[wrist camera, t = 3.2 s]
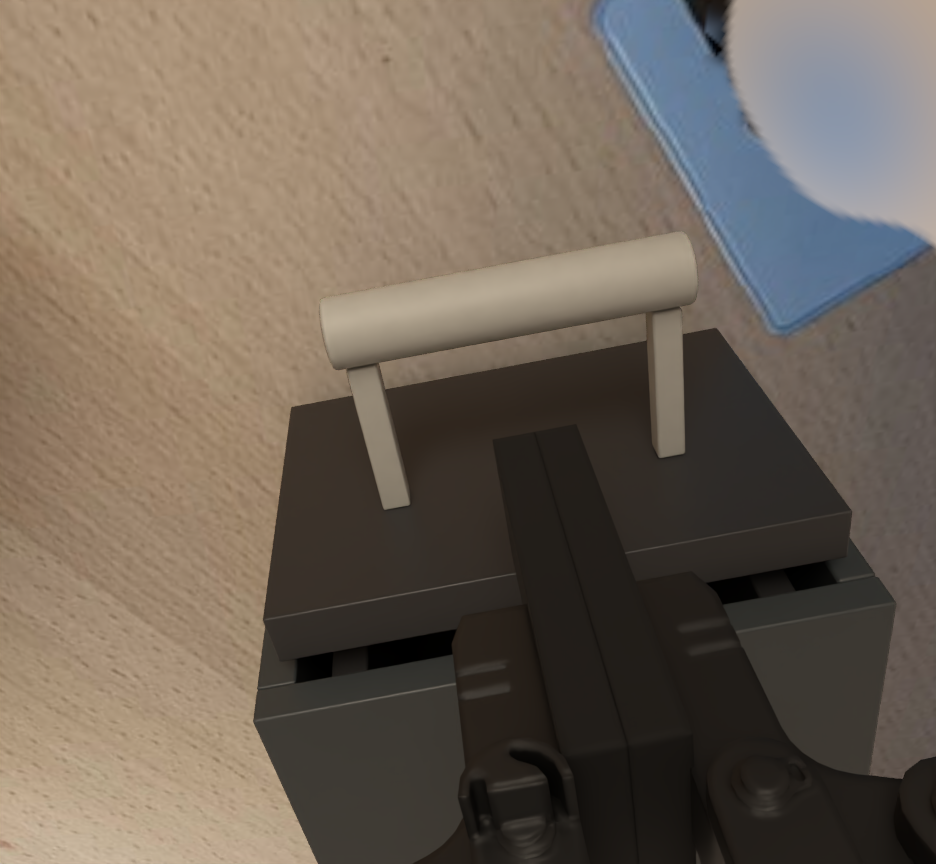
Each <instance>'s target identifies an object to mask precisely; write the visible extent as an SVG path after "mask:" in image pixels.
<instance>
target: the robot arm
mask: <svg viewBox="0 0 936 864" xmlns="http://www.w3.org/2000/svg"><path fill="white" fill-rule="evenodd" d="M492 441H493V447H494V452H495V458H496V464H497V470H498V476H499V482H500V487H501V493H502V499H503V505H504V511H505V516H506V522H507V528H508V534H509V540H510V545H511V551H512V557H513V561H514V566H515V571H516V576H517V580H518V585H519V590H520V594H521V599H522V604H523V605H518V606H512V607H507V608H502V609H496V610H491V611H485V612H480V613H475V614H469V615H464V616H462V618H461V620H460V623H459V626H458V628H457V631H456V633H455V636H454V639H453V641H452V652H453V661H454V670H455V676H456V678H455V679H456V688H457V697H458V706H459V715H460V724H461V733H462V742H463V751H464V760H465V769H464V771H463V773H462V775H461V776H460V782H459V790H458V800H459V804H460V808H461V811H462V815H463V818H462V820H461V822H460V824H459V825H458V827H457V829H456V831H455V832H454V833H453V834H452V835H451V837H450V838H449V839H448V840H447V841H446V842H445V843H444V844H443V845H442V846H441V847H439V848H438V849H436V850H435V851H433V852H432V853H430V854H429V855H427V856H426V857H424V858H422V859H420V860H418V861H416V862H415V863H413V864H696V850H697V853H698V856H699V859H700V862H701V864H936V757H932V758H928V759H923V760H920V761H919V762H918V763H916V764H915V765H914V766H912V767H911V768H910V769H909V770H907V771H906V772H905V775H904V777H903V779H896V778H887V777H878V776H870V775H861V774H853V773H849V772H844V771H839V770H835V769H833V768H830V767H828V766H825V765H823V764H820V763H818V762H817V761H815V760H813V759H812V758H810V757H809V756H807V755H806V754H804V753H803V752H802V751H801V750H800V749H799V748H798V747H796V746H795V745H794V744H793V743H792V742H791V741H790V739H789V738H788V736H787V735H786V733H785V732H784V730H783V728H782V727H781V725H780V723H779V721H778V718H777V716H776V714H775V712H774V710H773V708H772V706H771V704H770V702H769V700H768V698H767V696H766V694H765V692H764V689H763V687H762V685H761V683H760V681H759V679H758V677H757V675H756V673H755V671H754V669H753V667H752V665H751V663H750V660H749V658H748V656H747V654H746V652H745V650H744V648H743V647H741V643H740V640H739V638H738V636H737V634H736V632H735V629H734V627H733V625H731V624H730V619H729V617H728V615H727V613H726V611H725V609H724V607H723V605H722V603H721V600H720V598H719V596H718V594H717V592H716V591H714V590H713V589H712V588H711V587H710V586H709V585H707V584H706V583H705V582H704V581H703V580H702V579H700V578H699V577H698V576H697V575H696V574H694V573H693V572H692V571H689V572H684V573H678V574H673V575H668V576H662V577H657V578H651V579H646V580H641V581H635V578H634V575H633V573H632V570H631V567H630V565H629V562H628V559H627V557H626V554H625V551H624V549H623V546H622V543H621V541H620V538H619V536H618V533H617V530H616V528H615V525H614V522H613V520H612V517H611V514H610V512H609V509H608V506H607V504H606V501H605V498H604V496H603V493H602V491H601V488H600V485H599V483H598V480H597V477H596V475H595V472H594V469H593V467H592V464H591V461H590V459H589V456H588V453H587V451H586V448H585V446H584V443H583V440H582V438H581V435H580V432H579V430H578V427H577V424H573V425H568V426H563V427H557V428H552V429H547V430H541V431H536V432H531V433H525V434H520V435H515V436H509V437H504V438H499V439H493V440H492Z"/></svg>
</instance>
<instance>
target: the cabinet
mask: <svg viewBox="0 0 936 864" xmlns="http://www.w3.org/2000/svg"><path fill="white" fill-rule="evenodd" d="M783 570H784V572H785V573H786V575H787V577H788V578H789V580H790V582H791V584H792V585H793V587H794V589H795V590H796V591H794V592H789V593H783V594H778V595H772V596H767V597H761V598H756V599H751V600H745V601H740V602H734V603H729V604H724V605H723V607H724V609H725V611H726V613H727V615H728V617H729V619H730V624H731V625H733V627H734V629H735V632H736V634H737V636H738V638H739V640H740V643H741V647H743V648H744V650H745V652H746V654H747V656H748V658H749V660H750V663H751V665H752V667H753V669H754V671H755V673H756V675H757V677H758V679H759V681H760V683H761V685H762V687H763V689H764V692H765V694H766V696H767V698H768V700H769V702H770V704H771V706H772V708H773V710H774V712H775V714H776V716H777V718H778V721H779V723H780V725H781V727H782V728H783V730H784V732H785V733H786V735H787V736H788V738H789V739H790V741H791V742H792V743H793V744H794V745H795V746H796V747H798V748H799V749H800V750H801V751H802V752H803V753H804V754H806V755H807V756H809V757H810V758H812V759H813V760H815V761H817V762H818V763H820V764H823V765H825V766H828V767H830V768H833V769H835V770H839V771H844V772H849V773H853V774H861V775H869V772H870V766H871V760H872V753H873V747H874V741H875V735H876V728H877V722H878V716H879V710H880V703H881V697H882V691H883V685H884V678H885V672H886V666H887V660H888V653H889V647H890V641H891V635H892V628H893V622H894V616H895V610H896V602H895V600H894V599H893V597H892V596H891V595H890V593H889V592H888V590H887V589H886V587H885V586H884V585H883V583H882V582H881V580H880V579H879V578H878V577H875V573H874V572H873V570H872V569H871V567H870V566H869V564H868V563H867V562H866V560H865V559H864V557H863V556H862V555H861V553H860V552H859V550H858V549H857V547H856V546H855V545H854V543H853V542H852V540H851V539H850V538H849V544H848V553H847V557H845V558H839V559H834V560H828V561H823V562H818V563H812V564H807V565H801V566H796V567H790V568H785V569H783ZM332 661H333V652H330V653H325V654H319V655H314V656H309V657H303V658H298V659H292V660H287V661H279V659H278V656H277V654H276V651H275V649H274V647H273V644H272V642H271V639H270V637H269V634H268V632H267V629H266V627H265V633H264V640H263V648H262V656H261V664H260V672H259V679H258V687H257V689H258V692H257V696H256V704H255V712H254V720H253V722H254V724H255V727H256V729H257V731H258V733H259V735H260V738H261V740H262V742H263V744H264V746H265V748H266V751H267V753H268V755H269V757H270V759H271V762H272V764H273V766H274V768H275V770H276V773H277V775H278V777H279V779H280V781H281V784H282V786H283V788H284V790H285V792H286V795H287V797H288V799H289V801H290V803H291V806H292V808H293V810H294V812H295V814H296V817H297V819H298V821H299V823H300V825H301V828H302V830H303V832H304V834H305V836H306V839H307V841H308V843H309V845H310V847H311V850H312V852H313V854H314V856H315V858H316V861H317V863H318V864H413V863H415V862H416V861H418V860H420V859H422V858H424V857H426V856H427V855H429V854H430V853H432V852H433V851H435V850H436V849H438V848H439V847H441V846H442V845H443V844H444V843H445V842H446V841H447V840H448V839H449V838H450V837H451V835H452V834H453V833H454V832H455V831H456V829H457V827H458V825H459V824H460V822H461V820H462V818H463V815H462V811H461V808H460V804H459V800H458V790H459V782H460V776H461V775H462V773H463V771H464V769H465V760H464V751H463V742H462V733H461V724H460V715H459V706H458V697H457V688H456V679H455V678H456V676H455V670H454V661H453V655H447V656H442V657H436V658H431V659H425V660H420V661H415V662H409V663H404V664H398V665H393V666H388V667H382V668H377V669H371V670H366V671H360V672H355V673H350V674H344V675H339V676H333V677H332ZM696 864H701V862H700V859H699V856H698V853H697V850H696Z"/></svg>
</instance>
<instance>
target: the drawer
mask: <svg viewBox="0 0 936 864" xmlns="http://www.w3.org/2000/svg"><path fill="white" fill-rule="evenodd" d="M697 292H698V270H697V263H696V258H695V253H694V250H693V247H692V244H691V242H690V240H689V238H688V236H687V235H686V234H685V233H684V232H681V231H677V232H672V233H667V234H661V235H656V236H650V237H645V238H640V239H634V240H629V241H624V242H618V243H613V244H608V245H602V246H597V247H592V248H586V249H581V250H576V251H570V252H565V253H559V254H554V255H549V256H543V257H538V258H533V259H527V260H522V261H517V262H511V263H506V264H501V265H495V266H490V267H485V268H479V269H474V270H469V271H463V272H458V273H452V274H447V275H442V276H436V277H431V278H426V279H420V280H415V281H410V282H404V283H399V284H394V285H388V286H383V287H378V288H372V289H367V290H361V291H356V292H351V293H345V294H340V295H335V296H329V297H324V298H322V299H321V300H320V304H319V315H320V323H321V329H322V335H323V339H324V344H325V347H326V351H327V354H328V357H329V360H330V363H331V365H332V366H333V368H334V369H336V370H341V369H347V376H348V380H349V384H350V387H351V391H352V395H353V396H348V397H343V398H338V399H332V400H327V401H321V402H316V403H311V404H305V405H300V406H295V407H292V408H291V413H290V421H289V428H288V436H287V443H286V451H285V459H284V466H283V474H282V481H281V489H280V496H279V504H278V511H277V519H276V526H275V534H274V541H273V549H272V556H271V564H270V571H269V579H268V586H267V594H266V602H265V609H264V617H263V622H264V624H265V627H266V629H267V632H268V634H269V637H270V639H271V642H272V644H273V647H274V649H275V651H276V654H277V656H278V659H279V661H287V660H292V659H298V658H303V657H309V656H314V655H319V654H325V653H330V652H333V661H332V677H333V676H339V675H344V674H350V673H355V672H360V671H366V670H371V669H377V668H382V667H388V666H393V665H398V664H404V663H409V662H415V661H420V660H425V659H431V658H436V657H442V656H447V655H453V652H452V641H453V639H454V636H455V633H456V631H457V628H458V626H459V623H460V620H461V618H462V616H464V615H469V614H475V613H480V612H485V611H491V610H496V609H502V608H507V607H512V606H518V605H523V604H522V599H521V594H520V590H519V585H518V580H517V576H516V571H515V566H514V561H513V557H512V551H511V545H510V540H509V534H508V528H507V522H506V516H505V511H504V505H503V499H502V493H501V487H500V482H499V476H498V470H497V464H496V458H495V452H494V447H493V441H492V440H493V439H499V438H504V437H509V436H515V435H520V434H525V433H531V432H536V431H541V430H547V429H552V428H557V427H563V426H568V425H573V424H577V427H578V430H579V432H580V435H581V438H582V440H583V443H584V446H585V448H586V451H587V453H588V456H589V459H590V461H591V464H592V467H593V469H594V472H595V475H596V477H597V480H598V483H599V485H600V488H601V491H602V493H603V496H604V498H605V501H606V504H607V506H608V509H609V512H610V514H611V517H612V520H613V522H614V525H615V528H616V530H617V533H618V536H619V538H620V541H621V543H622V546H623V549H624V551H625V554H626V557H627V559H628V562H629V565H630V567H631V570H632V573H633V575H634V578H635V581H641V580H646V579H651V578H657V577H662V576H668V575H673V574H678V573H684V572H689V571H692V572H693V573H694V574H696V575H697V576H698V577H699V578H700V579H702V580H703V581H704V582H705V583H706V584H707V585H709V586H710V587H711V588H712V589H713V590H714V591H716V592H717V594H718V596H719V598H720V600H721V603H722V605H724V604H729V603H734V602H740V601H745V600H751V599H756V598H761V597H767V596H772V595H778V594H783V593H789V592H794V591H796V590H795V589H794V587H793V585H792V584H791V582H790V580H789V578H788V577H787V575H786V573H785V572H784V570H783V569H785V568H790V567H796V566H801V565H807V564H812V563H818V562H823V561H828V560H834V559H839V558H845V557H847V553H848V544H849V535H850V526H851V517H852V511H851V509H850V508H849V507H848V505H847V504H846V502H845V501H844V500H843V498H842V497H841V496H840V494H839V493H838V492H837V490H836V489H835V488H834V486H833V485H832V484H831V482H830V481H829V479H828V478H827V477H826V475H825V474H824V473H823V471H822V470H821V469H820V467H819V466H818V465H817V463H816V462H815V461H814V459H813V458H812V456H811V455H810V454H809V452H808V451H807V450H806V448H805V447H804V446H803V444H802V443H801V442H800V440H799V439H798V438H797V436H796V435H795V433H794V432H793V431H792V429H791V428H790V427H789V425H788V424H787V423H786V421H785V420H784V419H783V417H782V416H781V415H780V413H779V412H778V410H777V409H776V408H775V406H774V405H773V404H772V402H771V401H770V400H769V398H768V397H767V396H766V394H765V393H764V392H763V390H762V389H761V387H760V386H759V385H758V383H757V382H756V381H755V379H754V378H753V377H752V375H751V374H750V373H749V371H748V370H747V369H746V367H745V366H744V364H743V363H742V362H741V360H740V359H739V358H738V356H737V355H736V354H735V352H734V351H733V350H732V348H731V347H730V346H729V344H728V343H727V341H726V340H725V339H724V337H723V336H722V335H721V333H720V332H719V331H718V329H717V328H713V329H708V330H703V331H697V332H692V333H687V334H683V333H682V310H681V308H680V307H679V306H685V305H690V304H692V303H693V302H694V301H695V300H696V297H697ZM642 313H646V331H647V341H644V342H638V343H633V344H627V345H622V346H617V347H611V348H606V349H601V350H595V351H590V352H585V353H579V354H574V355H568V356H563V357H558V358H552V359H547V360H542V361H536V362H531V363H525V364H520V365H515V366H509V367H504V368H499V369H493V370H488V371H483V372H477V373H472V374H466V375H461V376H456V377H450V378H445V379H440V380H434V381H429V382H423V383H418V384H413V385H407V386H402V387H397V388H391V389H386V390H385V387H384V383H383V379H382V375H381V370H380V366H379V362H384V361H390V360H395V359H400V358H406V357H411V356H417V355H422V354H427V353H433V352H438V351H443V350H449V349H454V348H459V347H465V346H470V345H476V344H481V343H486V342H492V341H497V340H502V339H508V338H513V337H518V336H524V335H529V334H535V333H540V332H545V331H551V330H556V329H561V328H567V327H572V326H578V325H583V324H588V323H594V322H599V321H604V320H610V319H615V318H620V317H626V316H631V315H637V314H642Z"/></svg>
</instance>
